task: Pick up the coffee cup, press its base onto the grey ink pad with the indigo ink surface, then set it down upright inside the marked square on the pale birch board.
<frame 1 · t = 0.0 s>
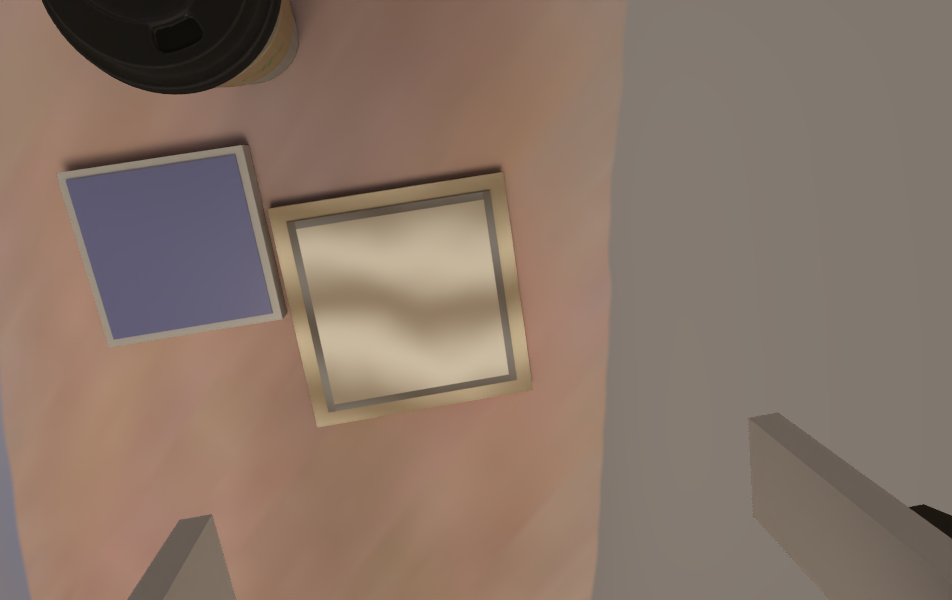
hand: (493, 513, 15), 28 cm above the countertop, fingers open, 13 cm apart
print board: (407, 300, 42), on the countertop
coffee cup: (249, 32, 38), on the countertop
ink pad: (182, 245, 40), on the countertop
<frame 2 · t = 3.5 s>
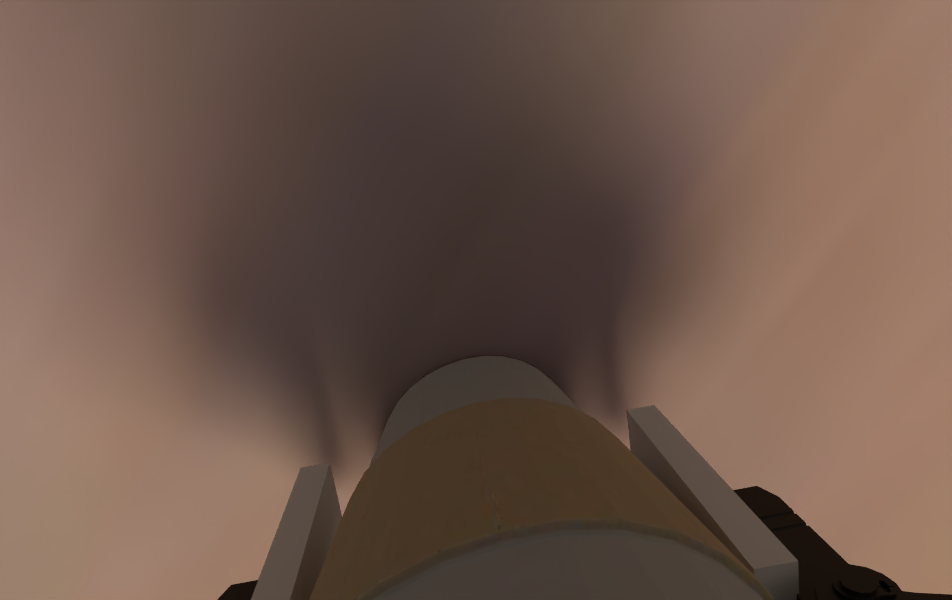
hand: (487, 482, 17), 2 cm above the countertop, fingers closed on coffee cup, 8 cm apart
coffee cup: (481, 441, 19), on the countertop, touching gripper
when the fingers open (4 cm above the countertop, at t = 13.7 s): coffee cup drops 1 cm, resting on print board.
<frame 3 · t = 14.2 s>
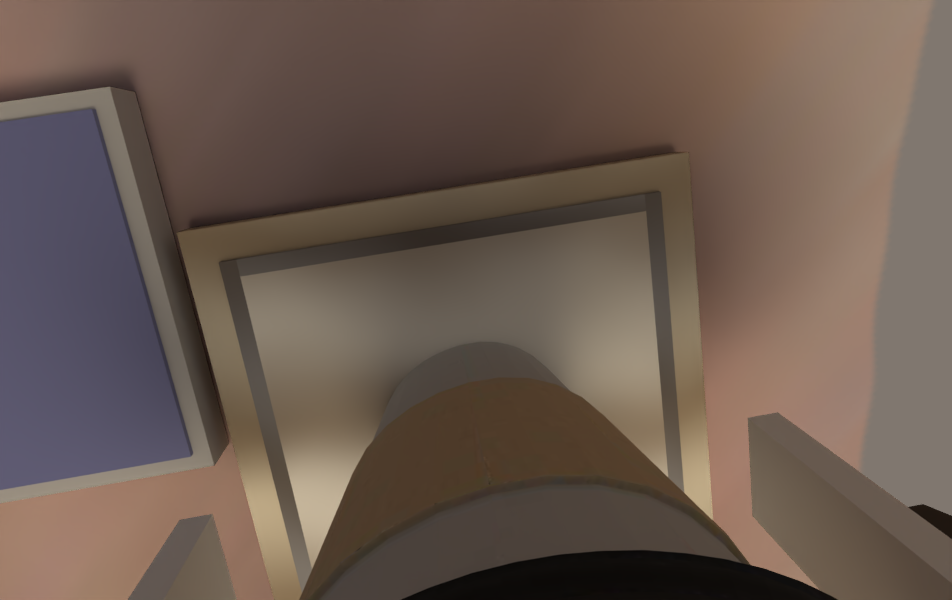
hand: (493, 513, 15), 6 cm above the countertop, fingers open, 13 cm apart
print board: (473, 414, 21), on the countertop
coffee cup: (477, 423, 20), point 1 cm above the countertop, touching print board
ink pad: (0, 309, 19), on the countertop
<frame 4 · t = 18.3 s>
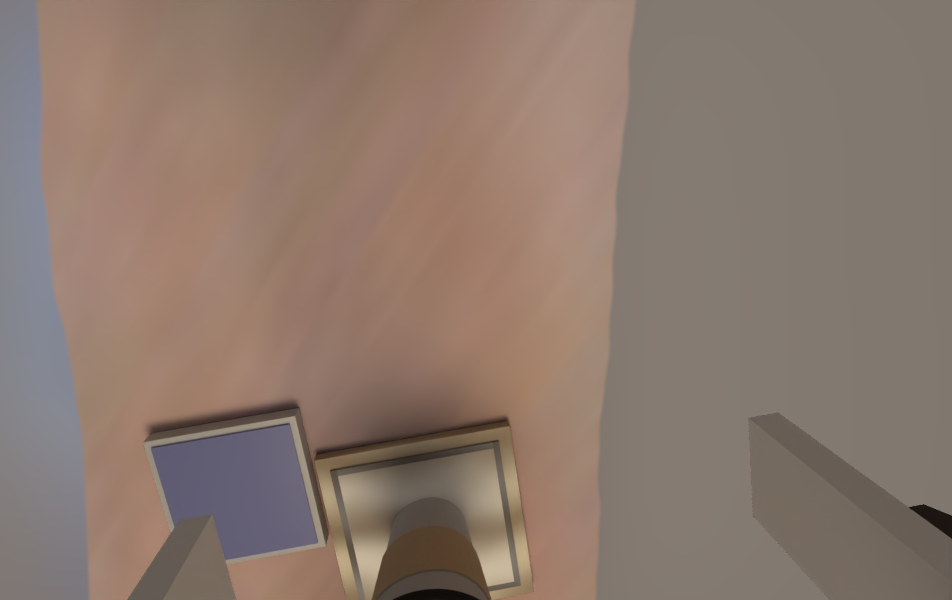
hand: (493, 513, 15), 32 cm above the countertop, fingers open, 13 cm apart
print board: (428, 521, 50), on the countertop
coffee cup: (429, 527, 49), point 1 cm above the countertop, touching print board
ink pad: (243, 485, 48), on the countertop
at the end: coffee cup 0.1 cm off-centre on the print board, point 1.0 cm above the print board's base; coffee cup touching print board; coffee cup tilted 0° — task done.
